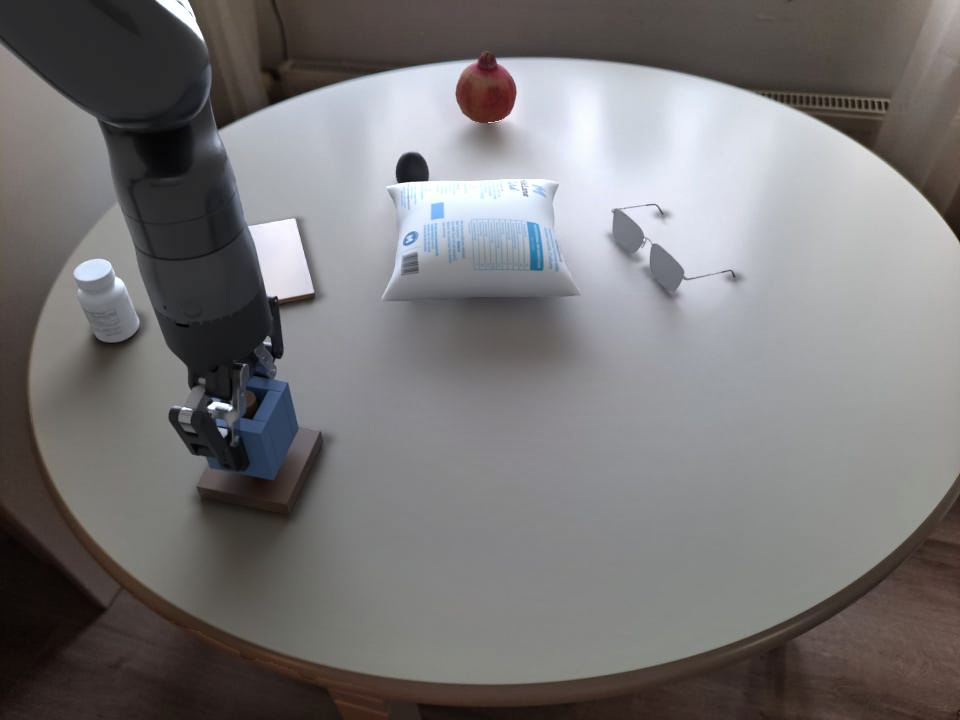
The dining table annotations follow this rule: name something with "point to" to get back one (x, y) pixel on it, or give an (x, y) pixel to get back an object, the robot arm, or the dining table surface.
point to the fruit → (486, 90)
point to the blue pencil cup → (265, 428)
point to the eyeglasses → (660, 259)
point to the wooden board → (282, 260)
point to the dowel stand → (259, 490)
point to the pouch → (477, 241)
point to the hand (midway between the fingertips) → (252, 436)
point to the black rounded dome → (411, 168)
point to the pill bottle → (105, 301)
